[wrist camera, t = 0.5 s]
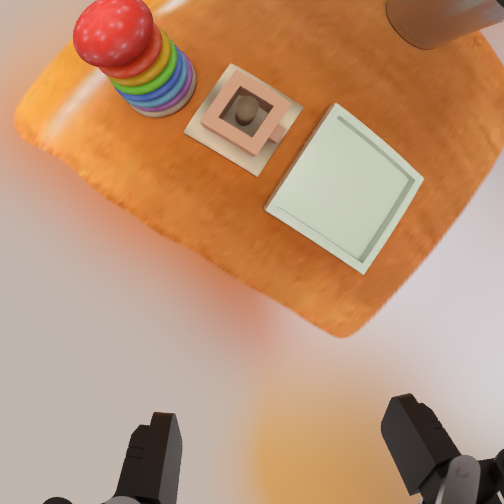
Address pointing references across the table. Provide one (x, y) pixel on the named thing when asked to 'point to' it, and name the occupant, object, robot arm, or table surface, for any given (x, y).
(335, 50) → the table surface
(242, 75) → the collar
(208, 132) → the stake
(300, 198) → the tray
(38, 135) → the table surface
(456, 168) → the table surface
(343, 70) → the table surface
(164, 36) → the stacking toy
